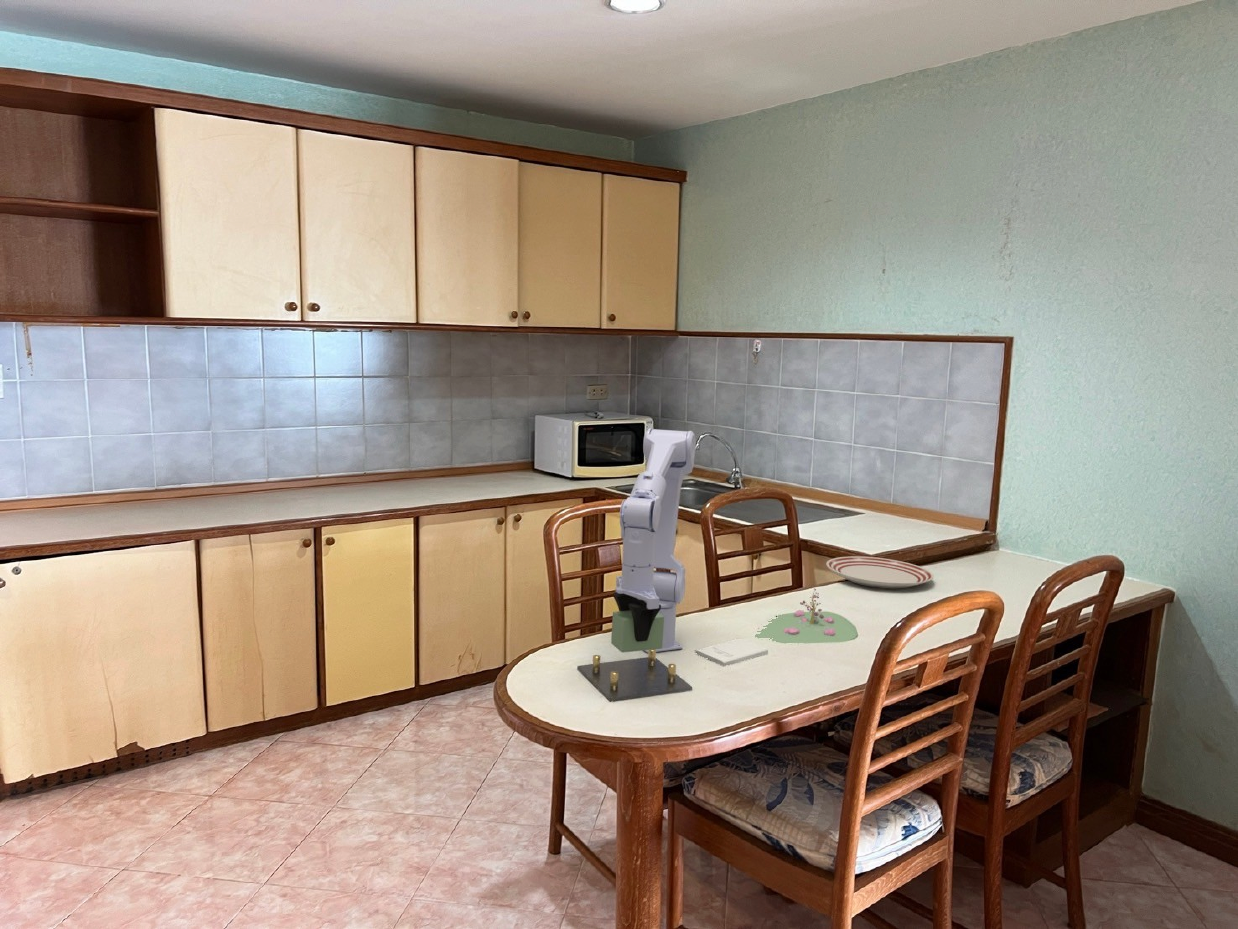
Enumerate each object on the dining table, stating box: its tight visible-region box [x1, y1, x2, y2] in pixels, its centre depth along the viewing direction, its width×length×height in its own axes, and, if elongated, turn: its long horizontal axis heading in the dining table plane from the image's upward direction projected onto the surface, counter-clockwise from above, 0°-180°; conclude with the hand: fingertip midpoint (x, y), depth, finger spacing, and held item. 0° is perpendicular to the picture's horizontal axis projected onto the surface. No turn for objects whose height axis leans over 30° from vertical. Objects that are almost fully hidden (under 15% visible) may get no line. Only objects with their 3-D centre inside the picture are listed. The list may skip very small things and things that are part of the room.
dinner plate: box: [825, 555, 934, 590], centre depth 243 cm, size 28×27×3 cm
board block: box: [610, 610, 664, 653], centre depth 167 cm, size 5×8×6 cm, turn 113°
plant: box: [754, 588, 859, 645], centre depth 199 cm, size 25×21×9 cm
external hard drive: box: [694, 637, 769, 667], centre depth 184 cm, size 2×8×12 cm
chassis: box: [576, 649, 693, 703], centre depth 168 cm, size 16×16×4 cm
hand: (635, 635), depth 167 cm, fingers closed on board block, 5 cm apart
